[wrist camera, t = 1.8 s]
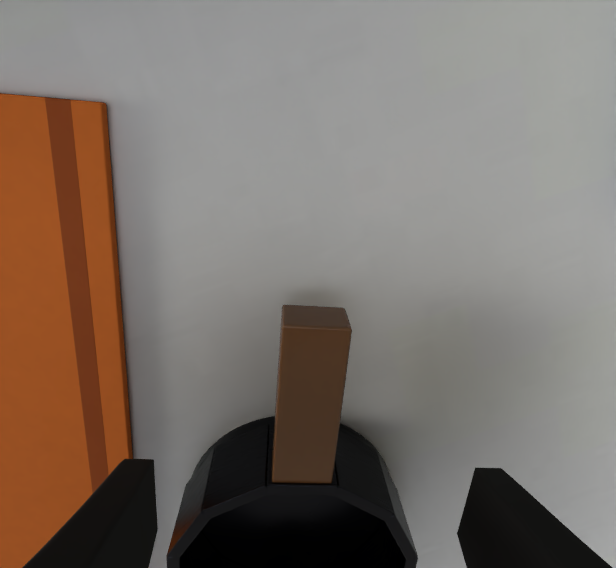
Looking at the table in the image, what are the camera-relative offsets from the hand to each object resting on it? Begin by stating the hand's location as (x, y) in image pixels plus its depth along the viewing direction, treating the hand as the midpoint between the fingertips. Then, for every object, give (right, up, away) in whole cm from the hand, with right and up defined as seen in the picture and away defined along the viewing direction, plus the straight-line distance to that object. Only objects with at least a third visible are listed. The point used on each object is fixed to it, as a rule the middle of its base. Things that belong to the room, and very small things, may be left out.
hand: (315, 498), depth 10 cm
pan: (-1, -1, +6) cm, 7 cm away
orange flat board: (-10, +1, +5) cm, 11 cm away
